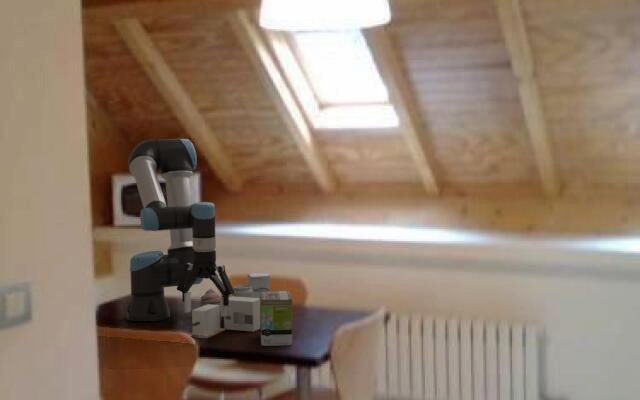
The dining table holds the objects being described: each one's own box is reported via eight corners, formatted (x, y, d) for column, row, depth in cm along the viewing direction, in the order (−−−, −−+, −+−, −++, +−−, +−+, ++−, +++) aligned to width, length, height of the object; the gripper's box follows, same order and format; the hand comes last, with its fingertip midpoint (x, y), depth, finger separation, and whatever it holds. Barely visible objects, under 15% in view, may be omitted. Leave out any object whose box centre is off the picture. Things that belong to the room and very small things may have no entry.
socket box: (224, 329, 306) (223, 299, 306) (232, 325, 312) (232, 296, 311) (253, 331, 302) (252, 301, 301) (261, 327, 308) (261, 298, 307)
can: (245, 323, 315) (244, 288, 314) (228, 320, 319) (227, 287, 318) (258, 318, 321) (257, 285, 320) (241, 316, 325) (240, 283, 324)
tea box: (293, 345, 283) (292, 298, 282) (261, 346, 282) (259, 299, 281) (291, 334, 298) (290, 289, 297) (260, 335, 297) (259, 290, 296)
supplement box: (251, 310, 336) (250, 276, 334) (247, 306, 343) (247, 273, 342) (270, 309, 337) (270, 275, 336) (267, 305, 344) (266, 272, 343)
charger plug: (187, 336, 294) (186, 312, 293) (212, 326, 309) (211, 302, 308) (199, 338, 292) (198, 313, 292) (223, 327, 307) (223, 303, 306)
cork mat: (187, 336, 297) (187, 334, 297) (206, 328, 308) (206, 326, 308) (206, 338, 294) (206, 336, 294) (224, 330, 305) (224, 328, 305)
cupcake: (214, 319, 321) (213, 291, 320) (193, 317, 326) (192, 289, 325) (229, 314, 329) (229, 287, 328) (208, 312, 334) (207, 285, 333)
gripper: (165, 249, 300) (167, 312, 302) (232, 253, 290) (233, 319, 292) (177, 246, 307) (179, 308, 309) (243, 250, 297) (244, 314, 299)
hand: (205, 313), depth 301 cm, fingers open, 13 cm apart
